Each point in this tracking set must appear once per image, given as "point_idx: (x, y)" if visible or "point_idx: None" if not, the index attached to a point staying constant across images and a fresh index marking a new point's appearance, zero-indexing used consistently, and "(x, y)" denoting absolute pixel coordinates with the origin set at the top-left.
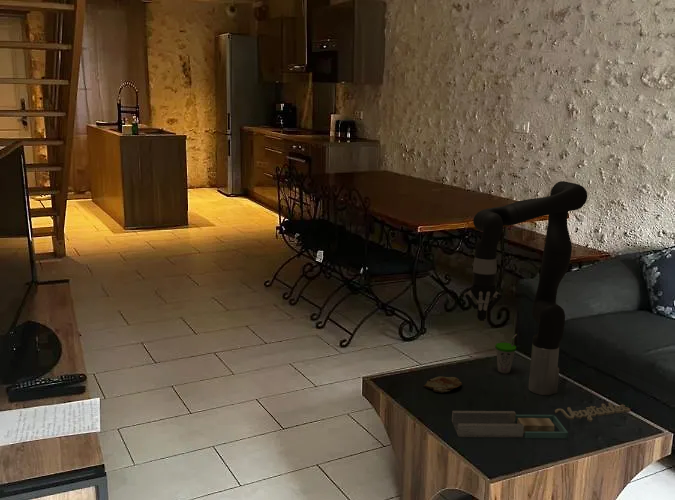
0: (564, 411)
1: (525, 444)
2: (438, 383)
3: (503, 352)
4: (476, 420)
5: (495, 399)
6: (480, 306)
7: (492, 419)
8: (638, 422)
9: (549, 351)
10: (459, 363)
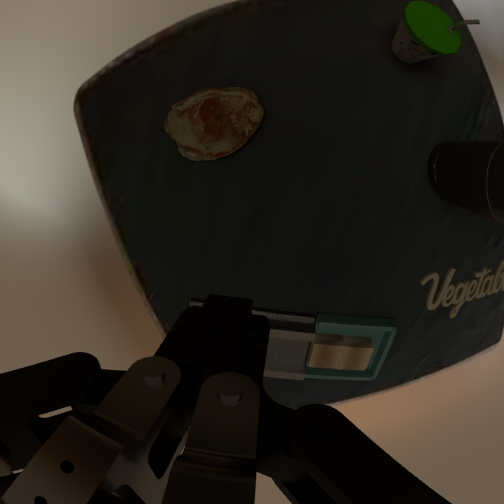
0: (435, 286)
1: None
2: (192, 128)
3: (419, 44)
4: None
5: (328, 202)
6: (158, 452)
7: None
8: (499, 318)
9: None
10: None
